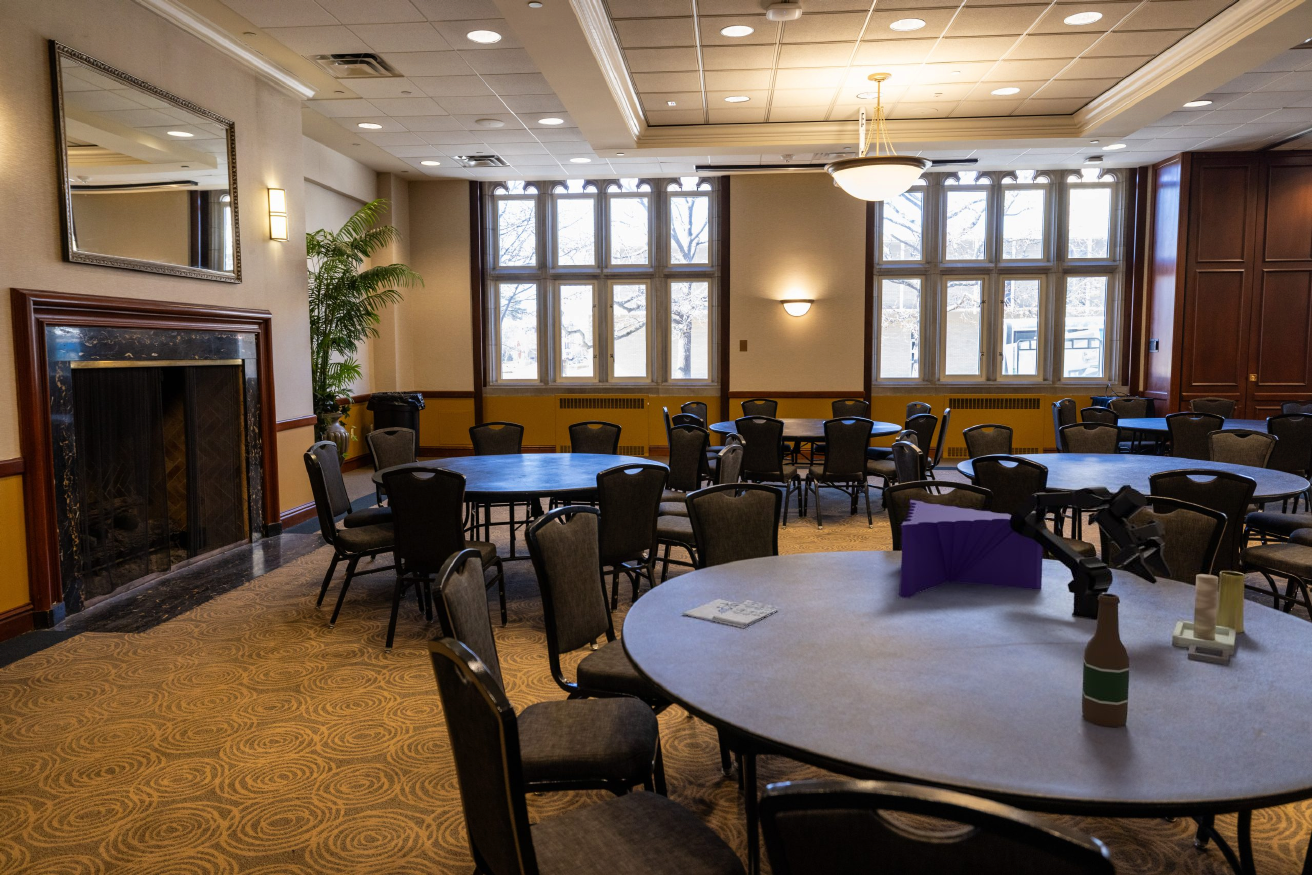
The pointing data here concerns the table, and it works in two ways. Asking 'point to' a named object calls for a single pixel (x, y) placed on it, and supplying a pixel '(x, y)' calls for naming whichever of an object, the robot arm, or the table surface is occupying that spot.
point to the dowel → (1205, 607)
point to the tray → (1185, 638)
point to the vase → (1230, 600)
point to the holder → (1210, 650)
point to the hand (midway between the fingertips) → (1163, 579)
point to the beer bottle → (1106, 669)
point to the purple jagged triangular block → (965, 550)
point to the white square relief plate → (733, 612)
